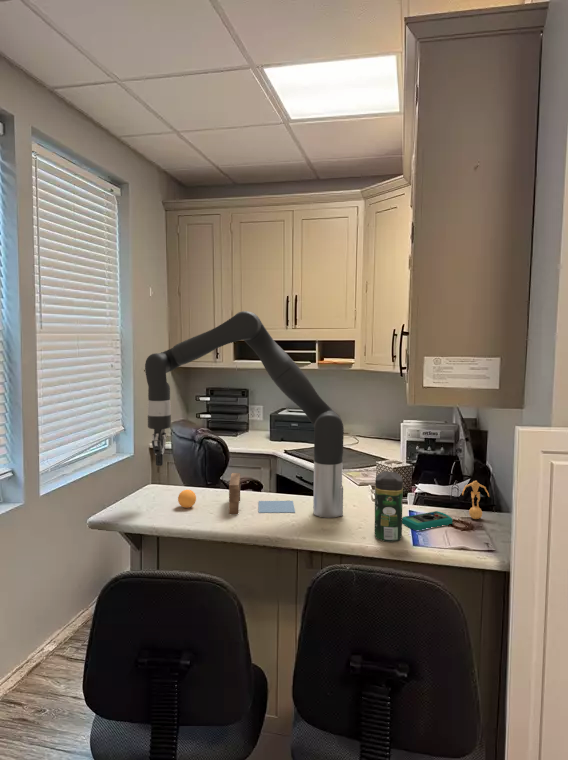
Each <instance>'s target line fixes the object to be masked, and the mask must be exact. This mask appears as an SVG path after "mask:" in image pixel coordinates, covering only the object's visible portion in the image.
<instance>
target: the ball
mask: <svg viewBox="0 0 568 760" xmlns="http://www.w3.org/2000/svg"><path fill="white" fill-rule="evenodd" d="M196 495H197V494H196V493H195V492H194V490H191V489H183V490H182V491H180V492H179V494H178V497H177V500H178V501H177V502H178V504H179V505H180V507H182V508H185V509H189V508H191V507H194V505H195V504H196V502H197V496H196Z"/></svg>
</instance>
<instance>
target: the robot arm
mask: <svg viewBox="0 0 568 760" xmlns="http://www.w3.org/2000/svg"><path fill="white" fill-rule="evenodd" d="M239 341H244V342H245V343H246V344H247V345H248V346H249V347H250V348H251V349H252V350H253V352H254V353H255V354H256V356H258V359H259V360H260V362H261V364H262V366H263V367H264V369H265V371H266V373H267V374H268V375H269V377H270V379H271V380H272V381H273V382H274V384H275V385H276V386H277V387H278V389H279V390H280V391H281V392H282V393H283V394H284V395H285V396H286V397H287V398H288V399H290V401H291V402H293V403H294V404H295V405H296V406H298V408H300V409H301V410H302V412H303V413H304V414H305V416H307V419H308V420H309V421H310V422H311V424H312V426H313V428H314V429H313V430H314V431H313V433H314V435H313V439H314V440H313V504H312V505H313V507H312V508H313V515H315V516H316V517H320V518H329V519H333V518H338V517H343V516H344V486H343V456H344V436H345V435H344V434H345V433H344V432H345V431H344V423H343V419H342V418H341V416H340V415H339V414H338V413H336V411H334V410H333V409H332V408H331V407H330V406H329V404H327V402H325V401H324V400H323V399H322V397H321V396H320V395H319V393H318V392H317V391H316V389H315V387H314V386H313V384H312V383H311V381H310V380H309V379H308V378H307V376H306V375H305V374H304V372H303V370H302V369H301V368H300V366H298V365H297V363H296V362H295V361H294V360H293V359H292V358H291V357H290V355H289V354H288V353H287V352H286V351H285V350H284V349H283V347H281V346H280V345H279V344H278V343H277V342H276V341H275V340H274V339H273V337H272V336H271V334H270V333H269V331H268V330H267V329H266V327H265V325H264V323H263V322H262V320H261V319H260V317H259V316H258V315H257V314H256V313H254V312H252V311H247V310H243V311H238V312H237V313H236V314H235V315H233V316H232V317H230V318H229V319H228V320H226V321H224V322H223V323H221V324H219V325H218V326H216V327H214V328H211V329H210V330H207V331H205V332H202V333H201V334H198V335H195V336H192V337H190V338H188V339H185V340H184V341H181V342H178V343H177V344H175V345H174V346H173V347H171V348H170V349H167V350H164V351H163V352H159V353H158V352H157V353H156V352H155V353H152V354H150V355H149V356H147V358H146V359H145V364H144V372H145V378H146V382H147V383H146V384H147V387H148V390H147V391H148V394H147V397H148V398H147V401H148V402H147V428H148V429H151V430H153V434H152V435H151V436H152V437H151V438H152V440H151V444H152V451H153V454H155V465H156V467H157V466H158V467H159V466H163V465H164V454H165V450H166V444H167V437H168V435H167V432H166V430H167V429H170V428H171V427H172V406H171V405H172V404H171V387H170V383H168V380H167V379H168V378H167V373H169V372H172V371H174V370H176V369H178V368H179V367H181V366H183V365H186V364H188V363H191V362H194V361H196V360H198V359H201V358H202V357H204V356H206V355H208V354H210V353H211V352H213V351H215V350H217V349H218V348H219V349H220V348H221V347H223V346H226V345H229V344H233V343H235V342H239Z"/></svg>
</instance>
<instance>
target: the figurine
mask: <svg viewBox="0 0 568 760" xmlns="http://www.w3.org/2000/svg"><path fill="white" fill-rule="evenodd" d="M469 487H471V489H472V491H471V492H470V494H471V495H470V496H471V505H472V507H470V509H469V510H468V514H469V516H470V518H472V519H474V520H479V519H481V518H482V516H483V511H482V508H480V506H479V502H480V500H481V496H480V495H481V492H480V491H479V488H480V487H481V488H483V489H484V491H485V492H486V494H487V496H488V498H490V494H489V492H488V490H487V487H486V486H484V485H482V484H480V483H479V482H478V480H473V481H472V482H470V483H469V484H465V486H464V487H463V490H462V493H461V496H464V494H465V490H466V489H467V488H469ZM475 497H476V498H477V500H476V505H475V503H474V502H475Z"/></svg>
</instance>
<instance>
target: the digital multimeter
mask: <svg viewBox="0 0 568 760" xmlns="http://www.w3.org/2000/svg"><path fill="white" fill-rule="evenodd" d="M449 524H452V525H453V517H451V516H450V515H448V514H446V513H444V512H441V511H438V510H434V511H429V512H424V513H420V514H414V515H413V514H412V515H407V516H406V515H405V516H402V525H404V526H405V527H407V528H409V529H411V530H413V529H414V530H413V531H416V530H421V531H423V530H422V529H425V530H427V529H426V528H430V529H432V528H431V527H435V528H438V527H437V526H440V527H443V526H442V525H446V526H450V525H449Z"/></svg>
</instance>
